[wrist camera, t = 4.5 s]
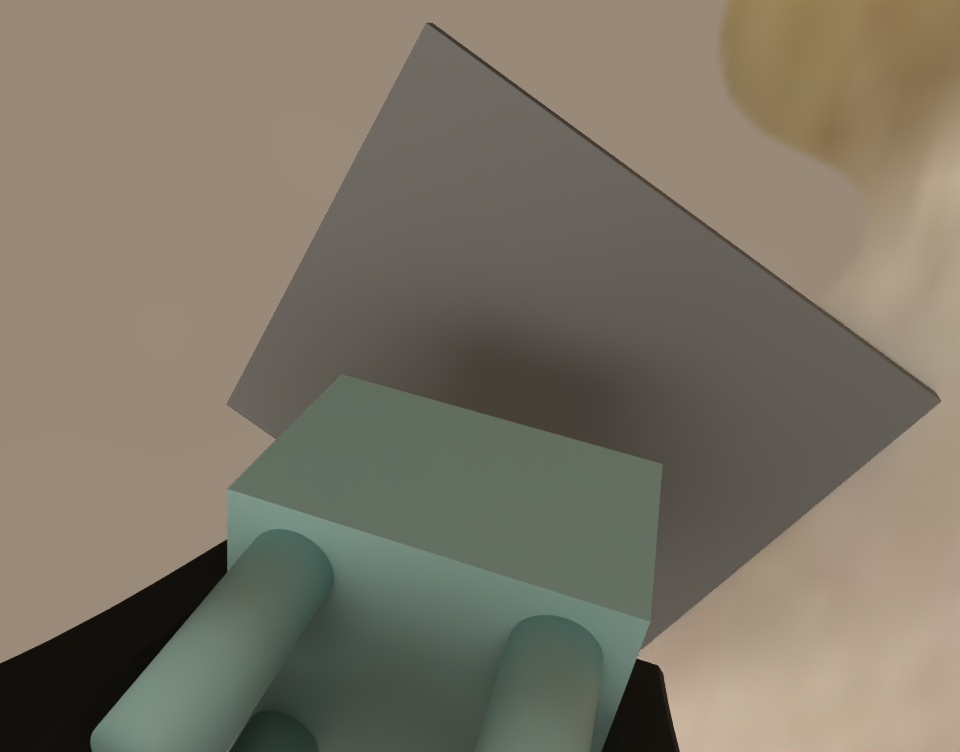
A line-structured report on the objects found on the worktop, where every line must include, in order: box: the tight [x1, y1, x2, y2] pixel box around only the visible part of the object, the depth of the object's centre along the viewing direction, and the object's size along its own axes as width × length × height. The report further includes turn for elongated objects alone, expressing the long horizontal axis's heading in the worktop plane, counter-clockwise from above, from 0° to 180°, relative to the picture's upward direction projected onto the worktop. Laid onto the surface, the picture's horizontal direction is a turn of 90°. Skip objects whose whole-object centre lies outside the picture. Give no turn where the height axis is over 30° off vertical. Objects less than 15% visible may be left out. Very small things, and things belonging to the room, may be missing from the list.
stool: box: [90, 374, 663, 752], centre depth 11 cm, size 6×6×6 cm
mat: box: [227, 23, 941, 650], centre depth 19 cm, size 14×12×1 cm
